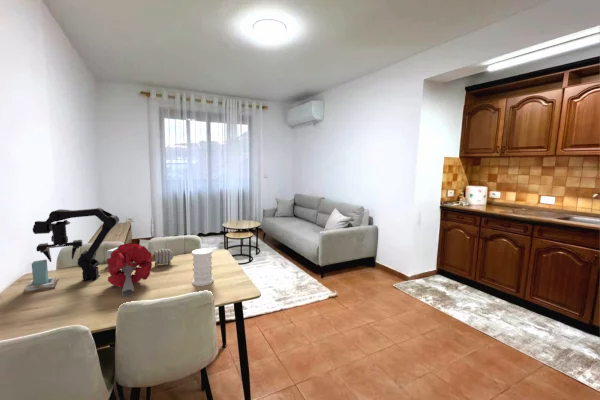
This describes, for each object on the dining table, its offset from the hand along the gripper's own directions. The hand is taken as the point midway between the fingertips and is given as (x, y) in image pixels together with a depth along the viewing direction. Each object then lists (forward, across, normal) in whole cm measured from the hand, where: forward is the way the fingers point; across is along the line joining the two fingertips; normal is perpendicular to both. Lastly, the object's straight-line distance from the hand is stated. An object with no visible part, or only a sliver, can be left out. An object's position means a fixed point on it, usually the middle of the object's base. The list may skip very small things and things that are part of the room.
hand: (61, 260), depth 154 cm
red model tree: (+12, -30, +27) cm, 42 cm away
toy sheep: (+12, -51, +1) cm, 52 cm away
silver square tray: (+12, +8, +3) cm, 15 cm away
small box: (+12, -25, -16) cm, 32 cm away
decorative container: (+12, -65, +41) cm, 78 cm away
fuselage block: (+11, +9, +3) cm, 15 cm away
